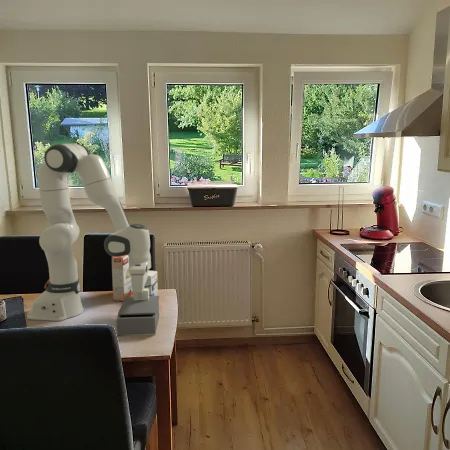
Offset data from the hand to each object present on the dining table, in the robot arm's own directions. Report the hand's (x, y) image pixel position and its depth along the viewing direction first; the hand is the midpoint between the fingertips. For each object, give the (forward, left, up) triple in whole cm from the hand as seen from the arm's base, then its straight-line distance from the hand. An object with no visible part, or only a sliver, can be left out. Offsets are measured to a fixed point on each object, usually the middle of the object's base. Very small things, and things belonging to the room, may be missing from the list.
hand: (141, 296), depth 171 cm
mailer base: (0, -9, -9) cm, 12 cm away
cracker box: (-11, +25, -9) cm, 29 cm away
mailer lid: (0, -6, -2) cm, 6 cm away
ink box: (+1, +23, -9) cm, 25 cm away
